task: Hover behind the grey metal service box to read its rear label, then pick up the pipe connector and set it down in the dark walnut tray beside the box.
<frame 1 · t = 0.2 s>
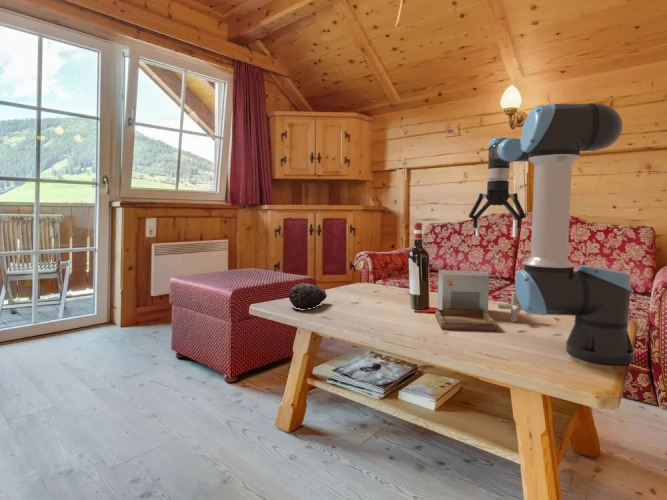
hand: (495, 236, 157), 28 cm above the table, fingers open, 13 cm apart
black oval piece: (307, 307, 163), on the table
pipe connector: (513, 321, 142), on the table
tray: (464, 323, 139), on the table
service box: (461, 312, 154), on the table
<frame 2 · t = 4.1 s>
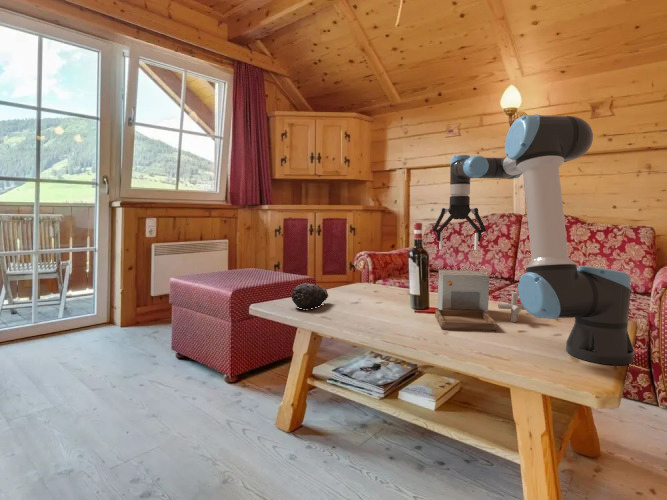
hand: (458, 249, 163), 22 cm above the table, fingers open, 13 cm apart
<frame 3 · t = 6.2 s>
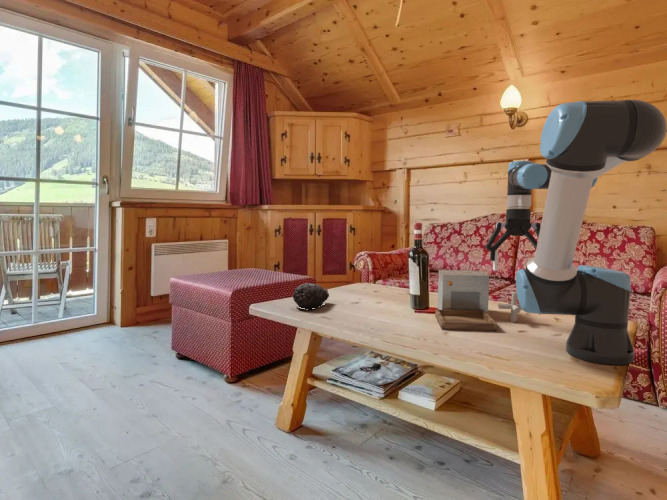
hand: (515, 270, 141), 17 cm above the table, fingers open, 13 cm apart
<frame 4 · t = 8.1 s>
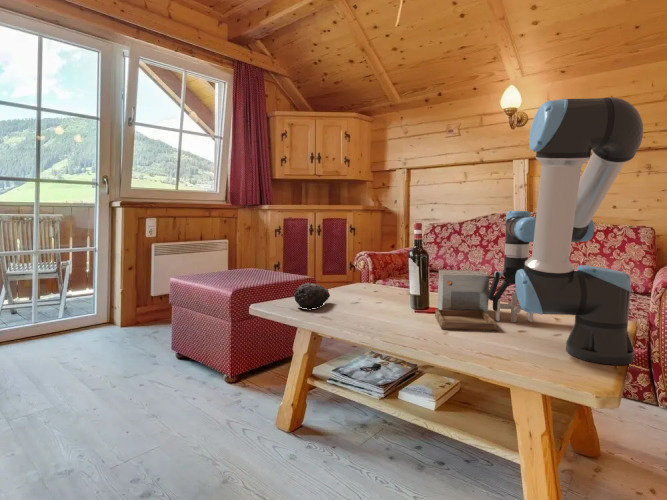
hand: (513, 320, 142), 0 cm above the table, fingers closed on pipe connector, 10 cm apart
pipe connector: (513, 321, 142), on the table, touching gripper
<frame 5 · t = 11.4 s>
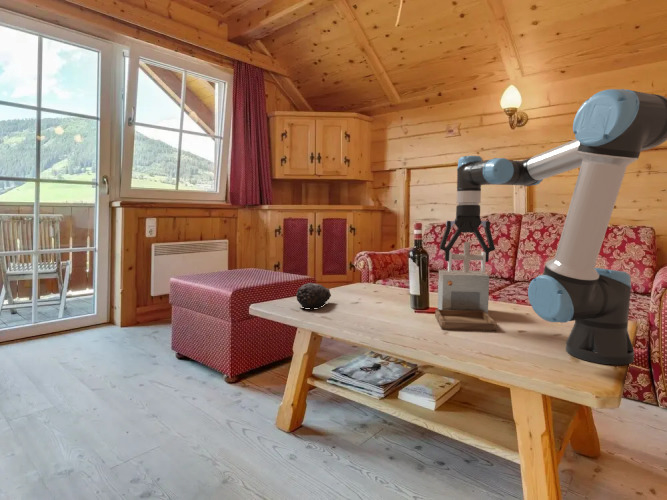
hand: (466, 271, 138), 18 cm above the table, fingers closed on pipe connector, 10 cm apart
pipe connector: (466, 272, 138), point 17 cm above the table, touching gripper
when the fingers open (3 cm above the table, at t = 14.7 s): pipe connector drops 2 cm, resting on tray.
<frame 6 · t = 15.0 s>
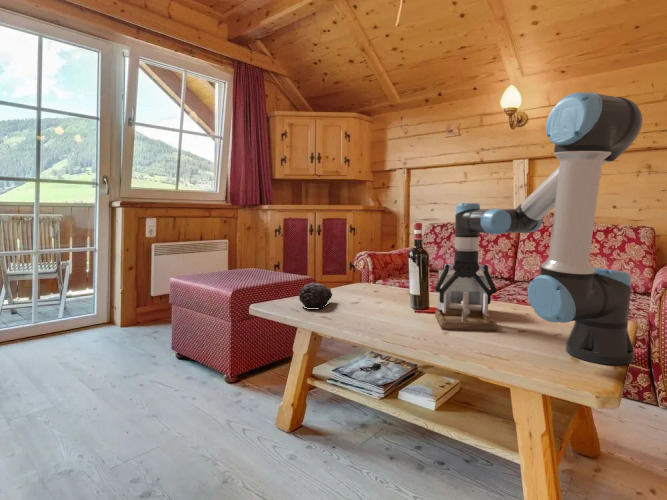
hand: (464, 312, 139), 4 cm above the table, fingers open, 13 cm apart
pipe connector: (464, 321, 139), resting on tray
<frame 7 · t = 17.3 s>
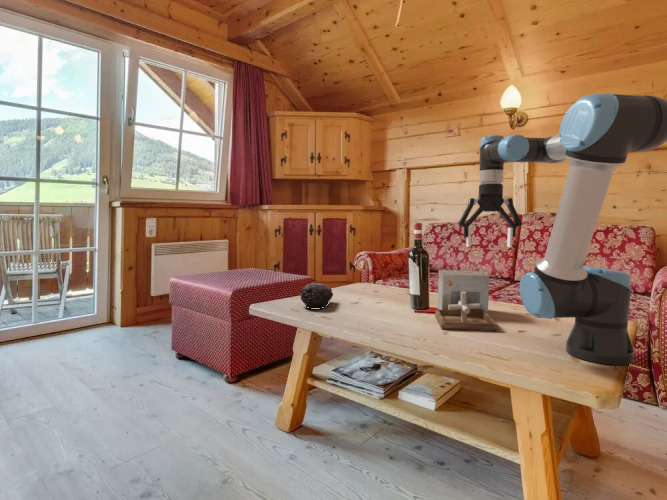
hand: (488, 247, 139), 26 cm above the table, fingers open, 13 cm apart
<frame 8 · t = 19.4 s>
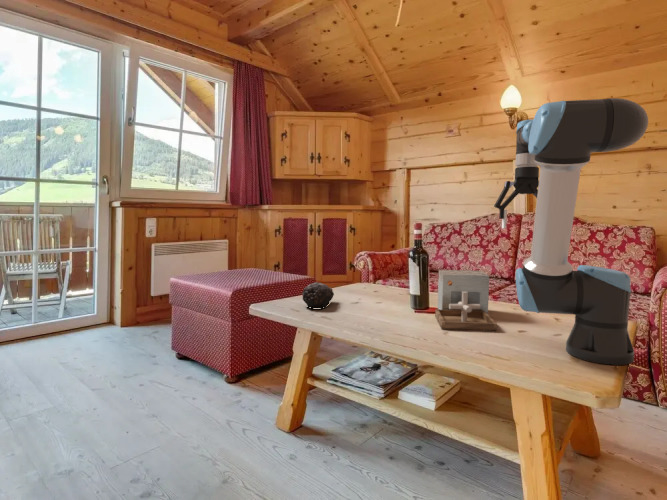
hand: (524, 228, 144), 32 cm above the table, fingers open, 13 cm apart
at the end: pipe connector inside the target area on the tray (0.1 cm from its centre), point 0.4 cm above the tray's base; the gripper is holding nothing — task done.
